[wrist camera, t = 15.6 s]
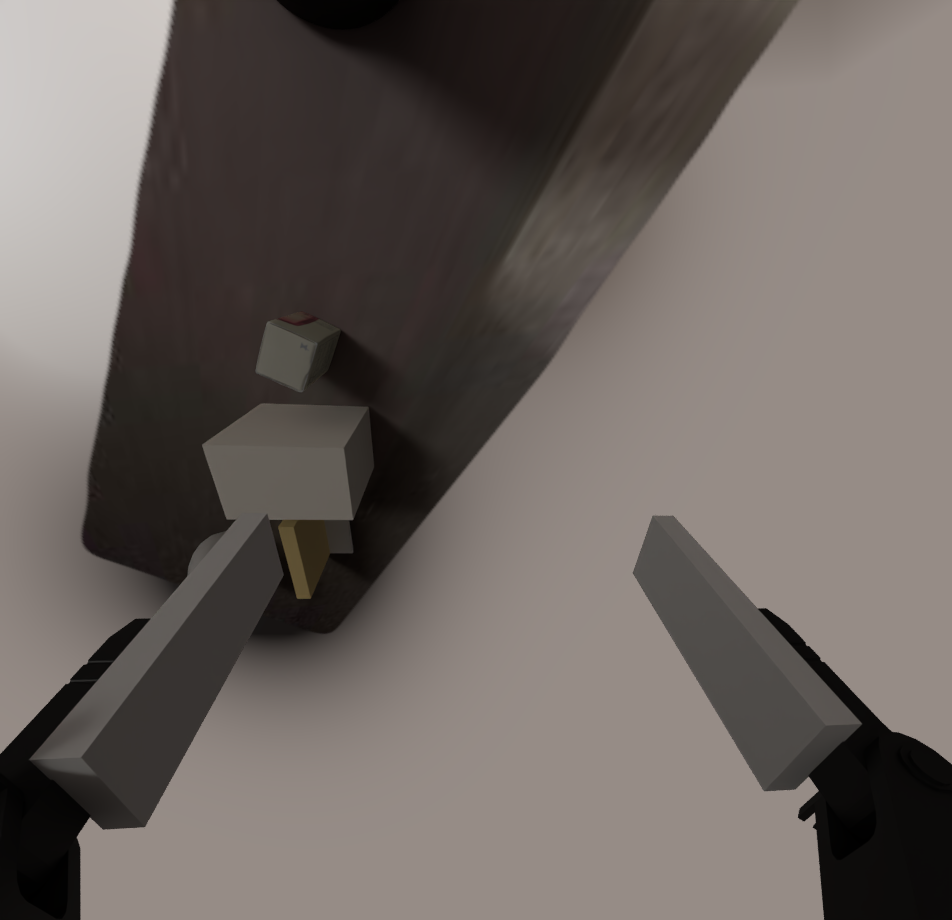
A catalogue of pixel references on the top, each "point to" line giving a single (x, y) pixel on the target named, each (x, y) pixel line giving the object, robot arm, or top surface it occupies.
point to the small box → (297, 350)
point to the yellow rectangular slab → (305, 553)
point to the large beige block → (293, 462)
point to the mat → (339, 536)
